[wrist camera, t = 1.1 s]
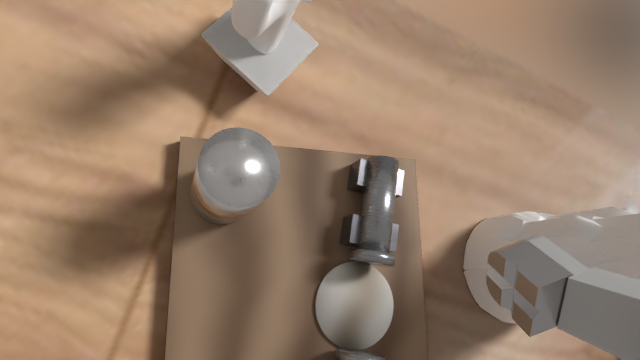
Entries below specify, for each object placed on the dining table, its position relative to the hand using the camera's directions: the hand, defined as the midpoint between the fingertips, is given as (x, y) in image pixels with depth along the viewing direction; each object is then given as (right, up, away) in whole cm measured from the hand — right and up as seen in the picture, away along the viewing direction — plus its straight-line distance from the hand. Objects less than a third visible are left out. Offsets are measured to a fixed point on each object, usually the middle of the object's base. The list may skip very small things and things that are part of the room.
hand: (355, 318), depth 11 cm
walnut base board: (-2, -7, +24) cm, 25 cm away
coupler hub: (-9, +2, +22) cm, 24 cm away
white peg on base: (-7, +15, +27) cm, 32 cm away
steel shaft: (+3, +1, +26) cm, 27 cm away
